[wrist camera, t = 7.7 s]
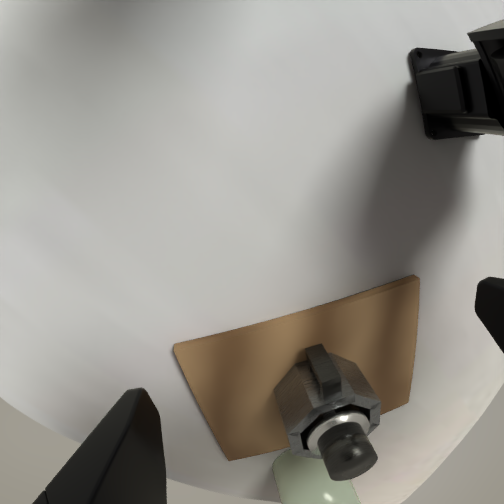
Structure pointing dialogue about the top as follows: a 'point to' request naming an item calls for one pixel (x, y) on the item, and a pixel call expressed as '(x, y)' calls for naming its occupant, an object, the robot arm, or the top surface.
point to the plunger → (343, 444)
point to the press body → (322, 395)
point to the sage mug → (309, 482)
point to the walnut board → (293, 351)
